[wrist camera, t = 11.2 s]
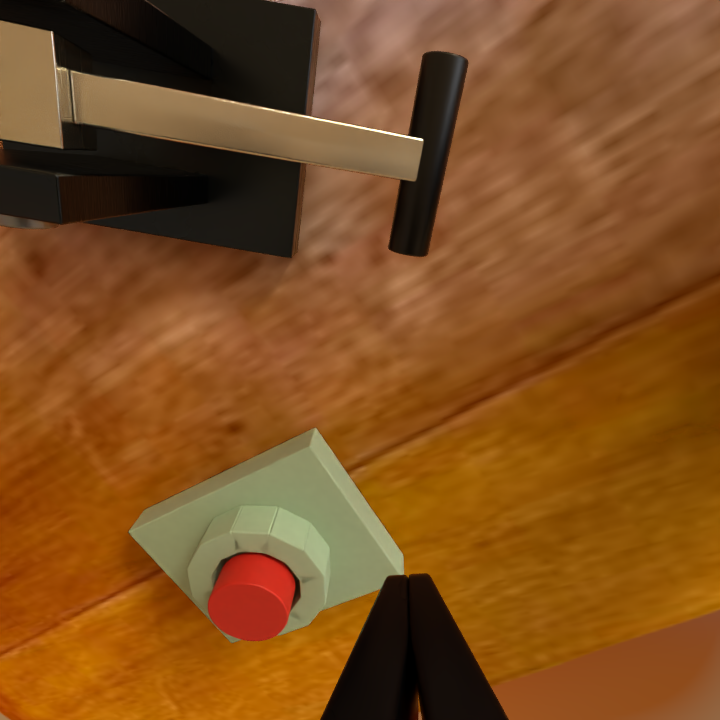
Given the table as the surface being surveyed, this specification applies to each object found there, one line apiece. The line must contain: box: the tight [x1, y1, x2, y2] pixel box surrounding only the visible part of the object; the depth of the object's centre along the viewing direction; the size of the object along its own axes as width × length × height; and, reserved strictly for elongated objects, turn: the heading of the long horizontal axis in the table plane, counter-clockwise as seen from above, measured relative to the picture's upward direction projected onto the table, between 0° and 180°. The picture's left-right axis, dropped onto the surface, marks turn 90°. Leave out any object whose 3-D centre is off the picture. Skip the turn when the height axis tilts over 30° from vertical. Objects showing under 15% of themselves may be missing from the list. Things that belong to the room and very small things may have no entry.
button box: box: [128, 428, 404, 643], centre depth 23 cm, size 11×9×4 cm
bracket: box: [0, 0, 321, 258], centre depth 13 cm, size 11×8×9 cm
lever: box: [0, 19, 468, 257], centre depth 11 cm, size 12×5×2 cm, turn 81°
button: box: [208, 552, 295, 641], centre depth 20 cm, size 4×4×2 cm
